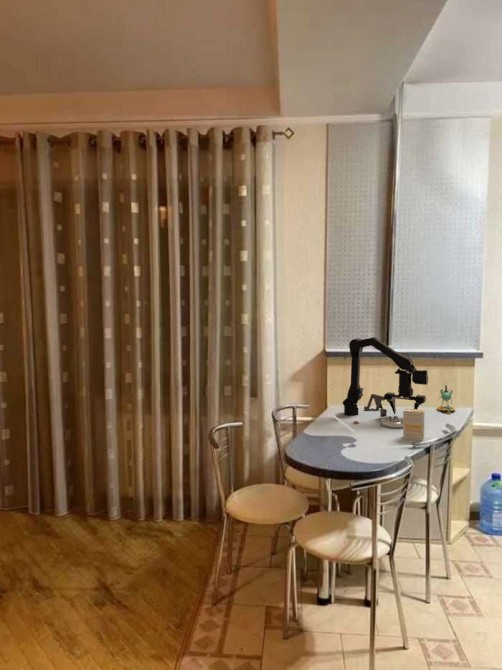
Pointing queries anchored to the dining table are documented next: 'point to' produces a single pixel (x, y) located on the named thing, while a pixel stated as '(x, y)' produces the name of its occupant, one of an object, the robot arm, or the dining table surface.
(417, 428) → the supplement box
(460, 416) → the dining table surface
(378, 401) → the portable electronic device stand
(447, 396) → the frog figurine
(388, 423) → the gear crank handle
